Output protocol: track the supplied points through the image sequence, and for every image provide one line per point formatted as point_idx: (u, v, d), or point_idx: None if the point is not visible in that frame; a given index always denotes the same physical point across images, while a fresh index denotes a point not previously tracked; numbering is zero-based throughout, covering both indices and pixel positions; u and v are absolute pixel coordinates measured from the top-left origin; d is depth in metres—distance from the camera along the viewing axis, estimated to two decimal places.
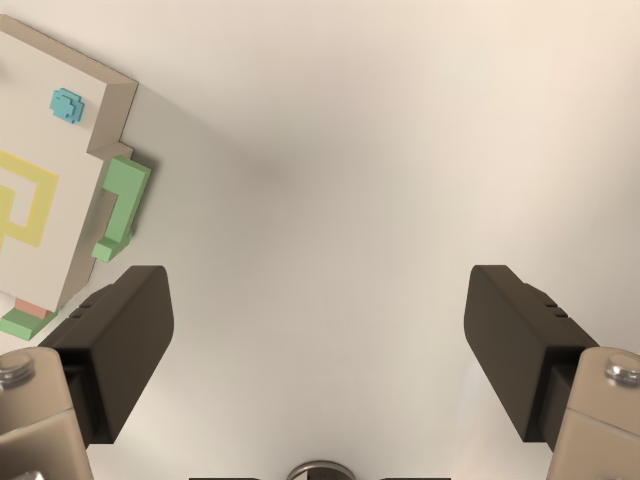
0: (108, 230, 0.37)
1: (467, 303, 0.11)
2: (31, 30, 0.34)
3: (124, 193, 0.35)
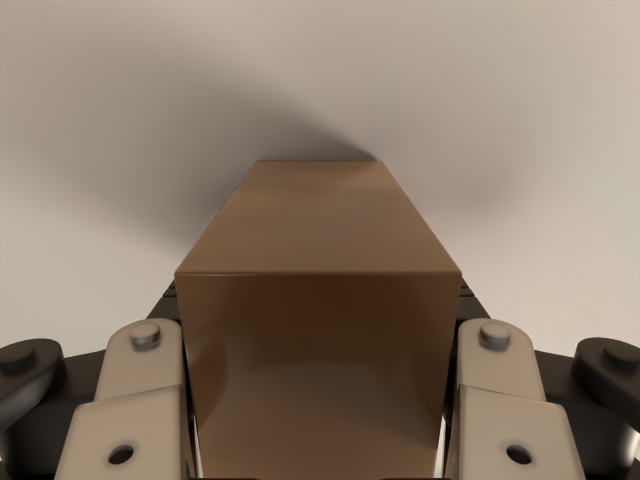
0: None
1: None
2: None
3: None
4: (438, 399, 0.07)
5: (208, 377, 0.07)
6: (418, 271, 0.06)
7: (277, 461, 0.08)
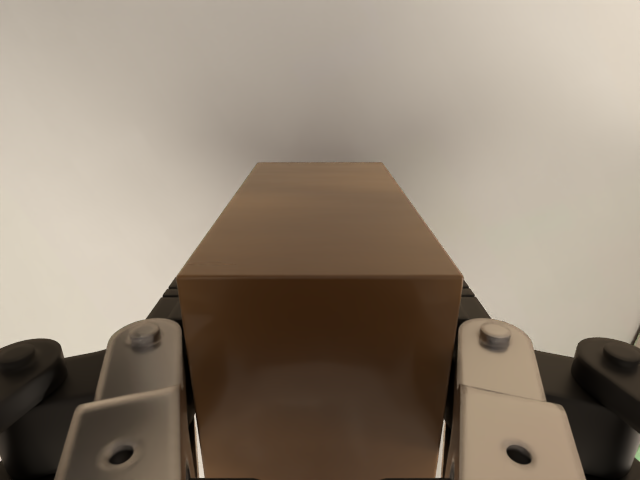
0: None
1: None
2: None
3: None
4: (440, 402, 0.07)
5: (210, 380, 0.07)
6: (420, 276, 0.06)
7: (279, 464, 0.08)
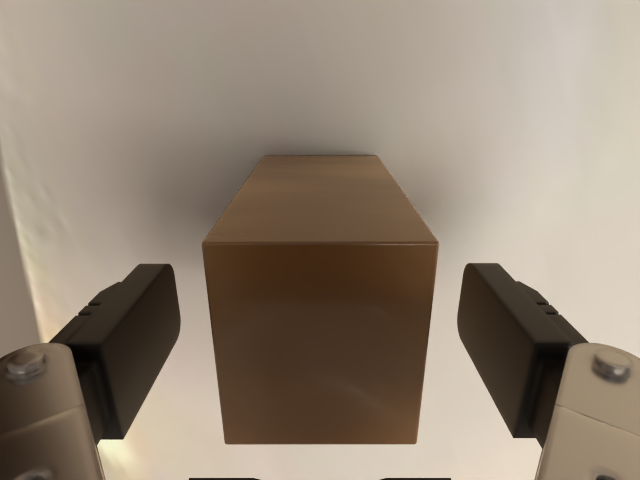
0: None
1: (460, 301, 0.11)
2: None
3: None
4: (421, 351, 0.09)
5: (228, 333, 0.09)
6: (403, 242, 0.08)
7: (285, 407, 0.09)
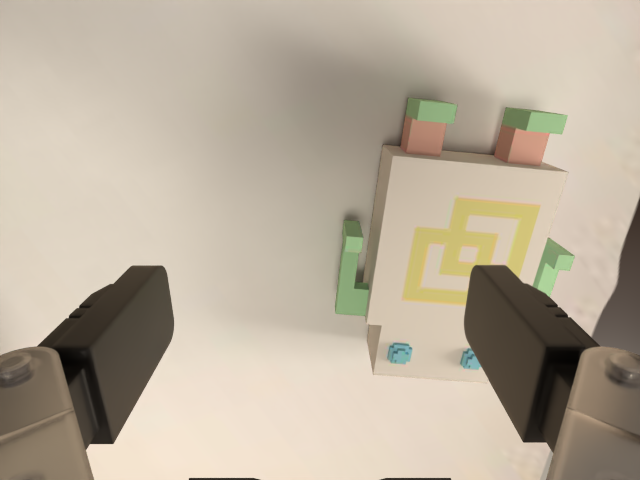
0: (356, 253, 0.38)
1: (467, 303, 0.11)
2: None
3: (349, 291, 0.39)
4: None
5: None
6: None
7: None
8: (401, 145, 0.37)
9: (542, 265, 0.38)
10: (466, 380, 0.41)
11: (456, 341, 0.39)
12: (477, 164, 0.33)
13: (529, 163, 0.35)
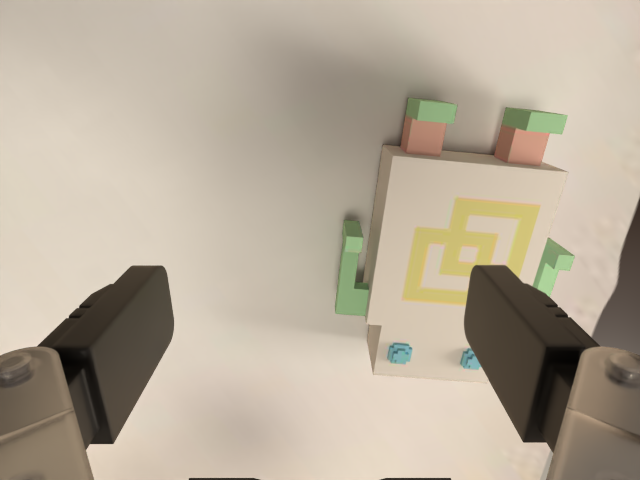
0: (356, 253, 0.38)
1: (467, 303, 0.11)
2: None
3: (349, 291, 0.39)
4: None
5: None
6: None
7: None
8: (401, 145, 0.37)
9: (542, 265, 0.38)
10: (466, 380, 0.41)
11: (456, 341, 0.39)
12: (477, 164, 0.33)
13: (529, 163, 0.35)
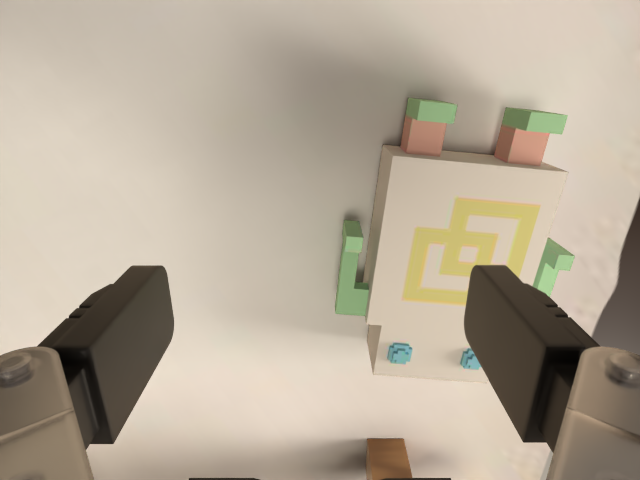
0: (356, 253, 0.38)
1: (467, 303, 0.11)
2: None
3: (349, 291, 0.39)
4: None
5: None
6: None
7: None
8: (401, 145, 0.37)
9: (542, 265, 0.38)
10: (466, 380, 0.41)
11: (456, 341, 0.39)
12: (477, 164, 0.33)
13: (529, 163, 0.35)
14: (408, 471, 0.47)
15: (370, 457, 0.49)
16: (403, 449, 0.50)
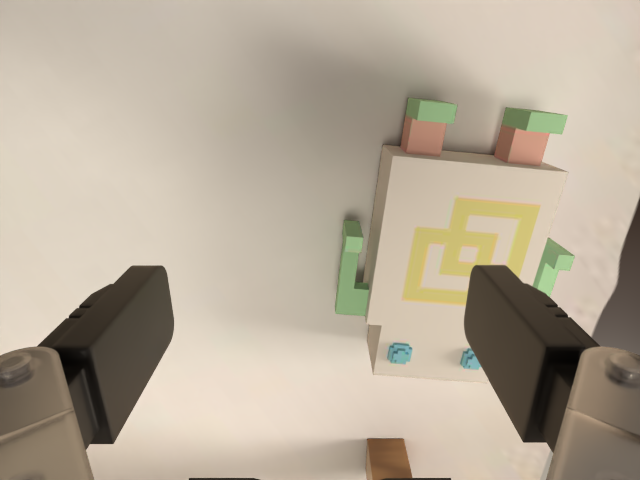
0: (356, 253, 0.38)
1: (467, 303, 0.11)
2: None
3: (349, 291, 0.39)
4: None
5: None
6: None
7: None
8: (401, 145, 0.37)
9: (542, 265, 0.38)
10: (466, 380, 0.41)
11: (456, 341, 0.39)
12: (477, 164, 0.33)
13: (529, 163, 0.35)
14: (408, 471, 0.47)
15: (370, 457, 0.49)
16: (403, 449, 0.50)
